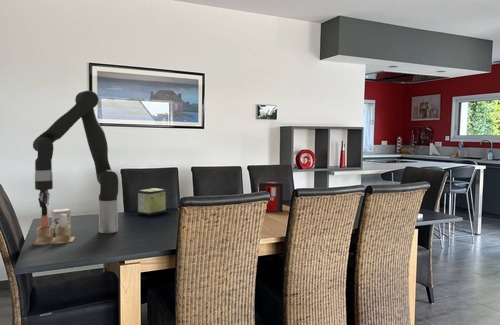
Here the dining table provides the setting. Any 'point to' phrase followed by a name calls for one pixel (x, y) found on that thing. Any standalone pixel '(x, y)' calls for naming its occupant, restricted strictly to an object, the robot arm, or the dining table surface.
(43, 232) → the socket block
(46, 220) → the terracotta plug
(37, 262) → the dining table surface
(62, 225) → the grey plug
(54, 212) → the ink box
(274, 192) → the cleaning product box
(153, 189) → the protein box
